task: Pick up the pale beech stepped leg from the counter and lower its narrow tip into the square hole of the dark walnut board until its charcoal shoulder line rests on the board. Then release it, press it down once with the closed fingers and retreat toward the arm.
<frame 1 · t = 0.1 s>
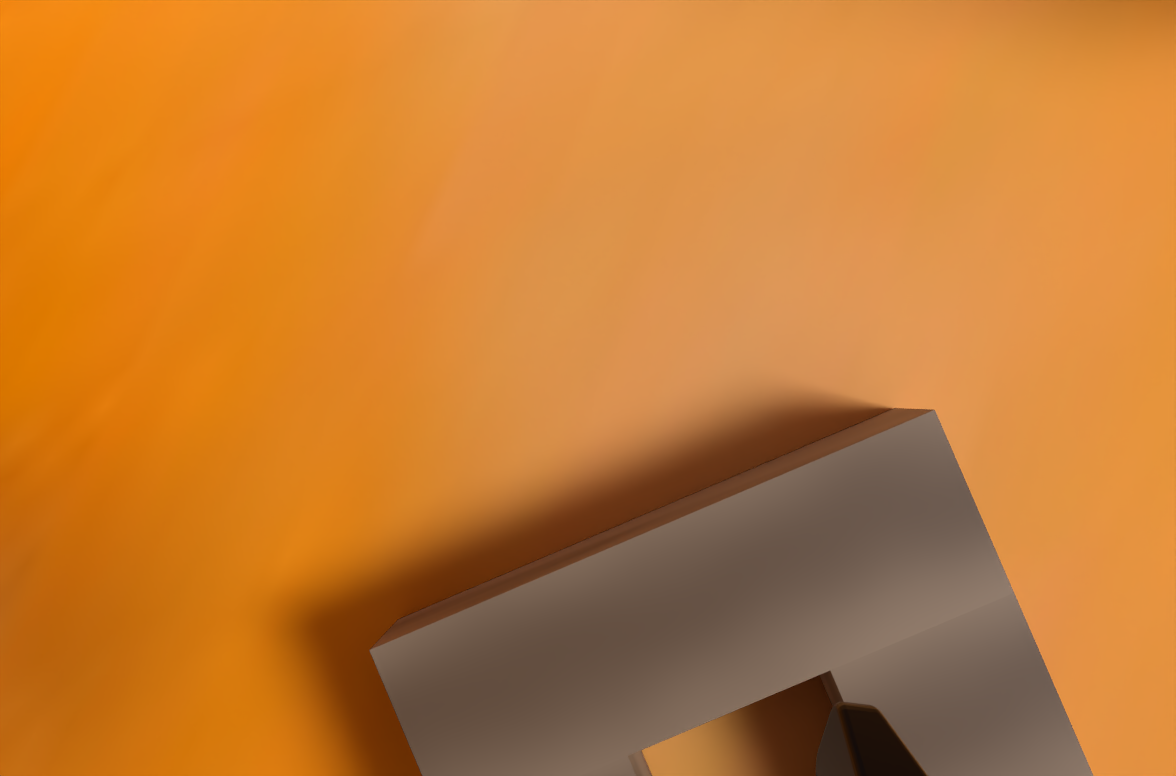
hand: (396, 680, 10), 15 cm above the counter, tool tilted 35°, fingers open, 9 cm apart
socket board: (752, 763, 24), on the counter
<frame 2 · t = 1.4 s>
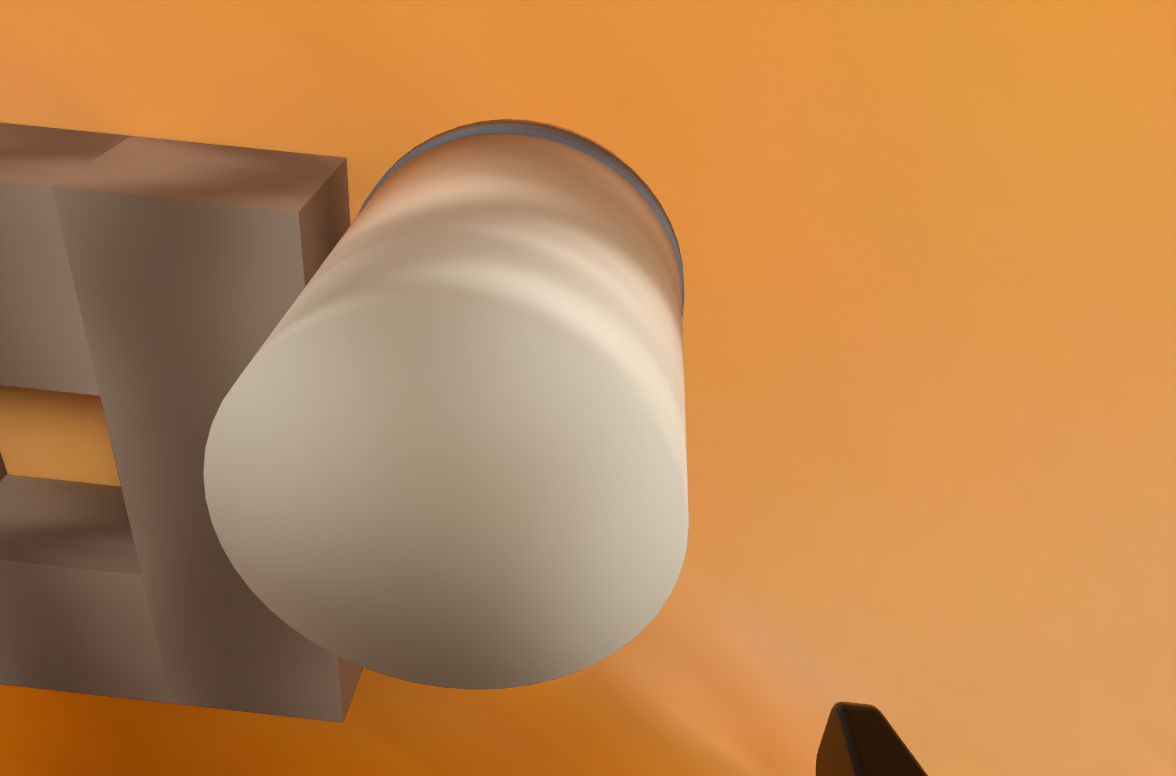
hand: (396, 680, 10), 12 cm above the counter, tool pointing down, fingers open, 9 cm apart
socket board: (81, 405, 23), on the counter
beech leg: (536, 222, 20), on the counter
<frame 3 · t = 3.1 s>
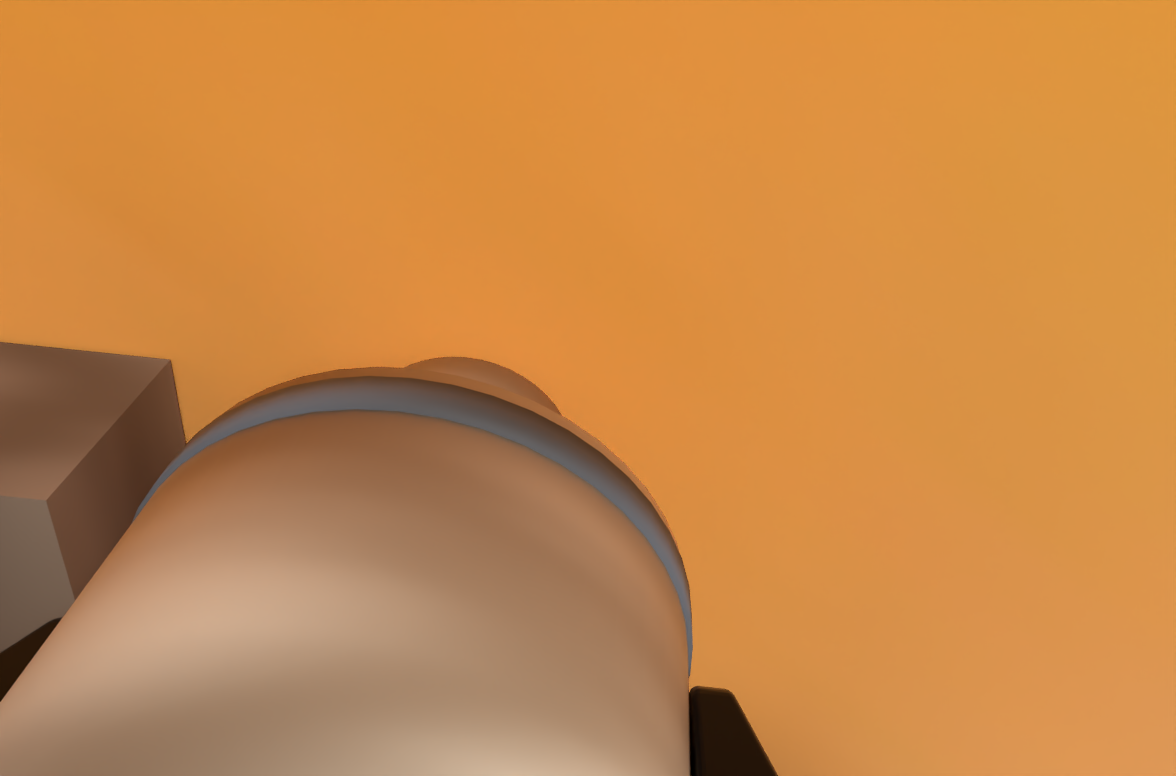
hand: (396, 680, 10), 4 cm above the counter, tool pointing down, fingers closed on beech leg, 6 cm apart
beech leg: (465, 450, 13), on the counter, touching gripper
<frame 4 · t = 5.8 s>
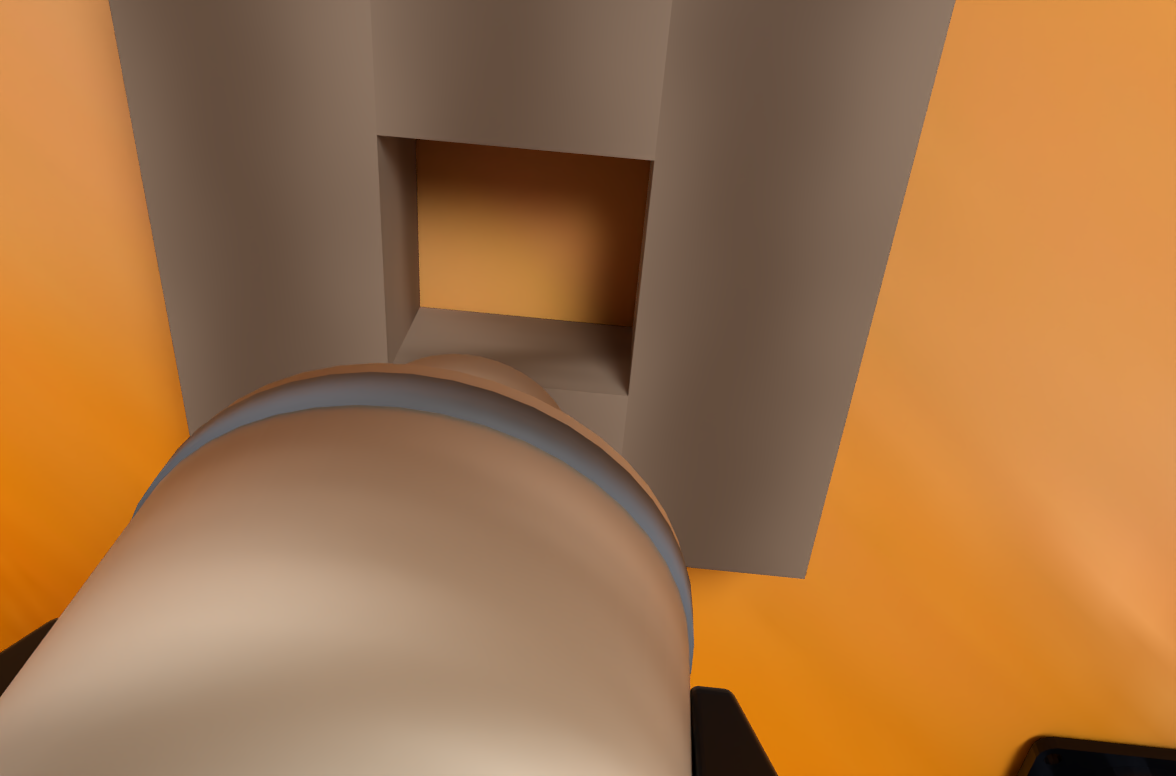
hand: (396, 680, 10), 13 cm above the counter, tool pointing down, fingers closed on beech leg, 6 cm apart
socket board: (530, 216, 21), on the counter
beech leg: (466, 447, 13), point 9 cm above the counter, touching gripper
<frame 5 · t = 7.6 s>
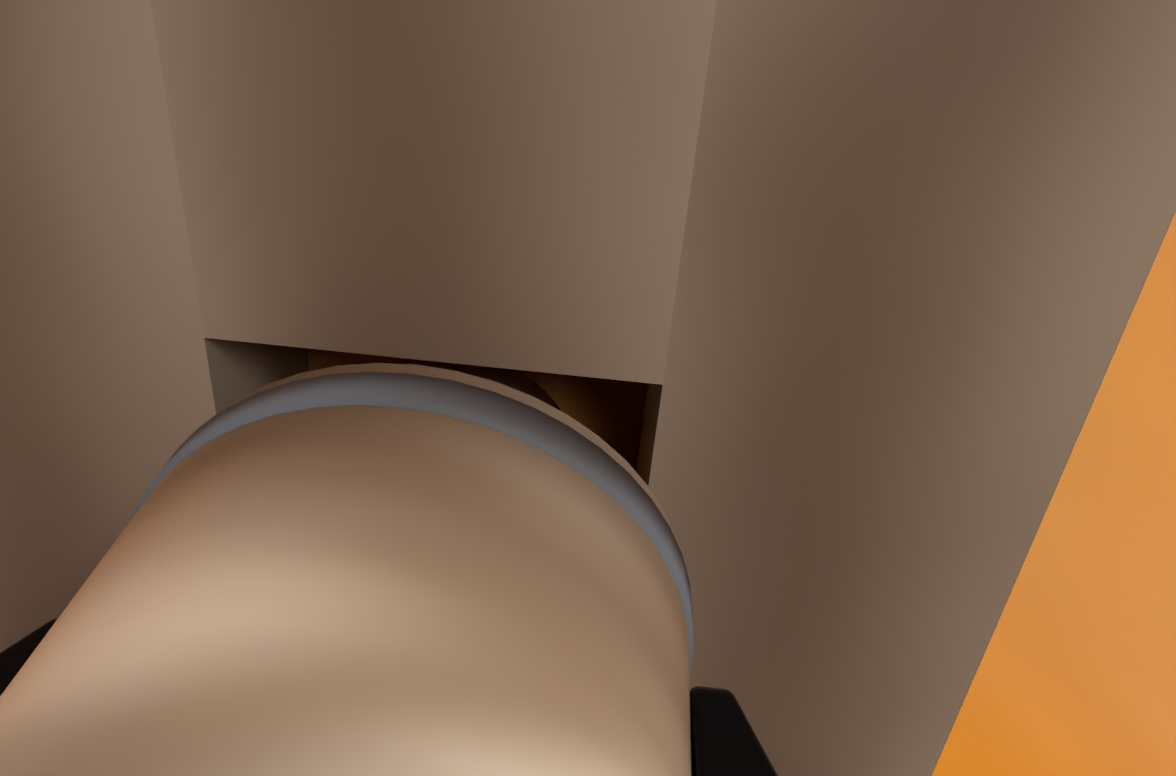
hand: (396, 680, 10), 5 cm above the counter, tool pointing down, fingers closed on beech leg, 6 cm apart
socket board: (475, 403, 14), on the counter
beech leg: (465, 447, 13), point 1 cm above the counter, touching gripper
when the fingers open (5 cm above the counter, at t = 8.8 s): beech leg stays where it is, resting on socket board.
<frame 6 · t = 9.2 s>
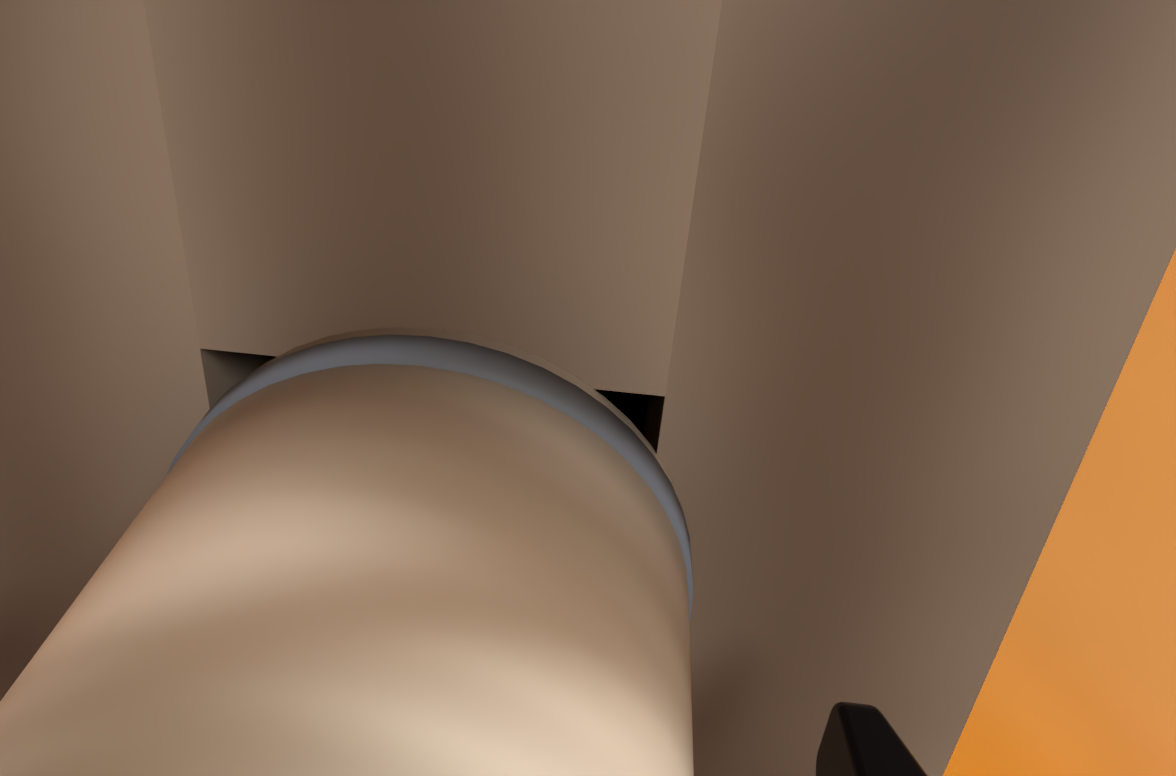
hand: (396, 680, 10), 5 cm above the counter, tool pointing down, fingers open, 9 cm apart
socket board: (475, 412, 14), on the counter
beech leg: (476, 418, 14), resting on socket board
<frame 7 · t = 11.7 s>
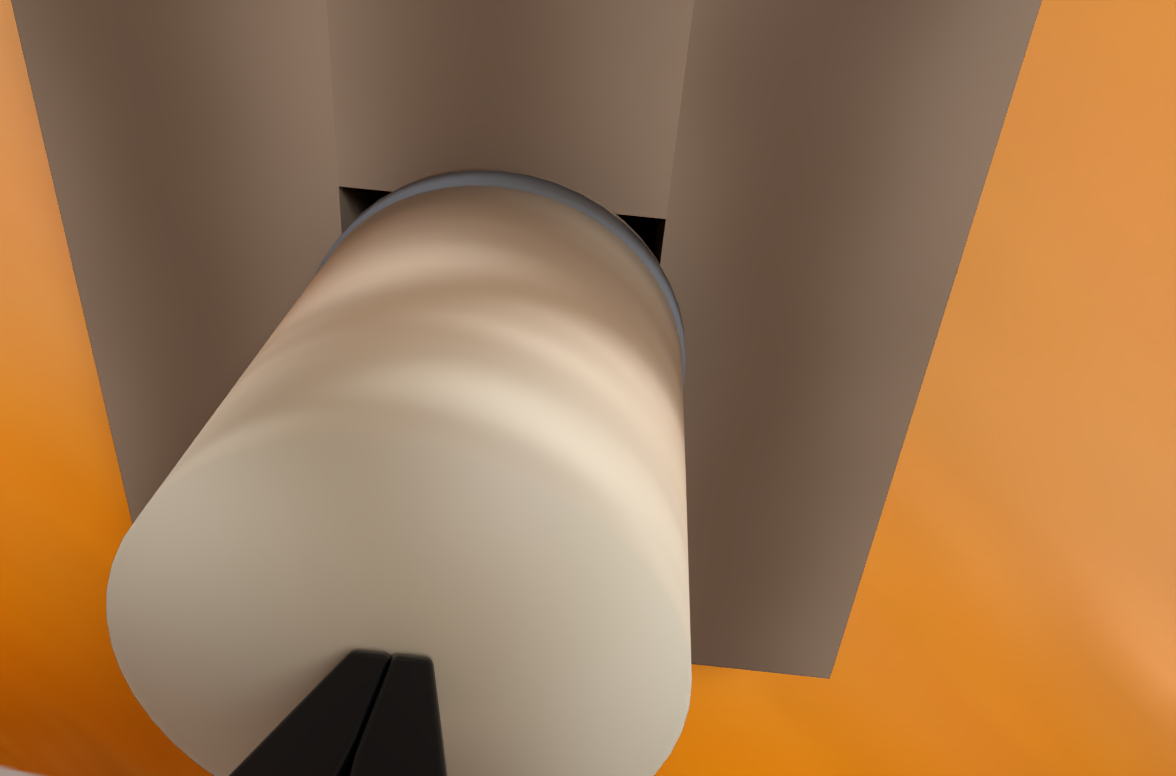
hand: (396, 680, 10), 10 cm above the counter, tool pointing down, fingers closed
socket board: (520, 269, 18), on the counter
beech leg: (521, 272, 18), resting on socket board
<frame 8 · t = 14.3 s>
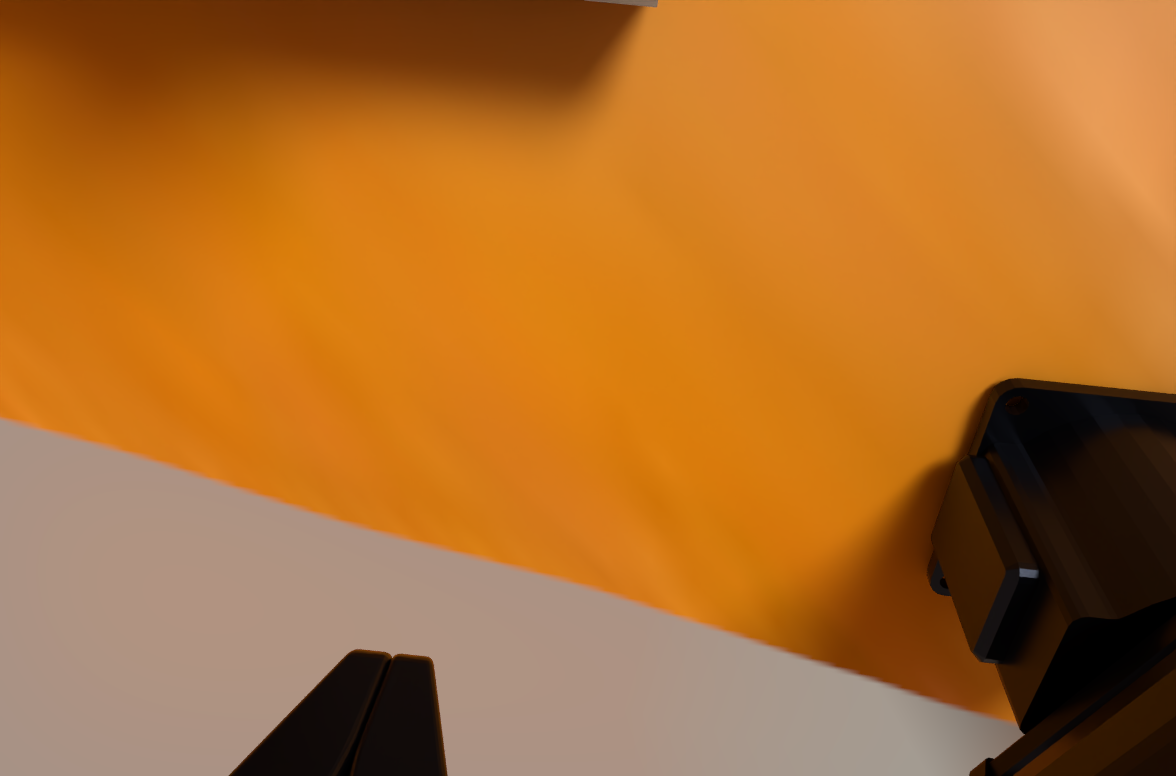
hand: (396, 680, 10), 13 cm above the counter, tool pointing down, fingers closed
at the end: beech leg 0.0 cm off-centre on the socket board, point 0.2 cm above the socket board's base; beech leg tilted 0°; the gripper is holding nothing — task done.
